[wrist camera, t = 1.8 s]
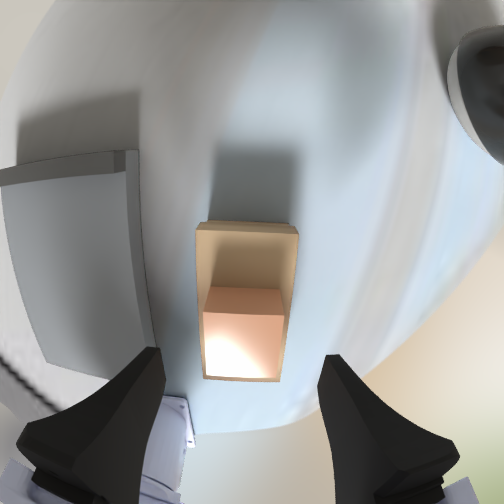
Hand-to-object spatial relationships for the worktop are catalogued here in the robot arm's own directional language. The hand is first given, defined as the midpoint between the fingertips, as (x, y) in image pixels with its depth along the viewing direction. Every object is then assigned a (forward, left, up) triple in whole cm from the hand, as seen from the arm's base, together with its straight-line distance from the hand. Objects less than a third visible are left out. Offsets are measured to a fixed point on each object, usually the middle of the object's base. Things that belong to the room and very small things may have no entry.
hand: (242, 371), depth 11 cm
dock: (0, +13, -8) cm, 15 cm away
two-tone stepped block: (0, 0, -8) cm, 8 cm away
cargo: (0, 0, -4) cm, 4 cm away
